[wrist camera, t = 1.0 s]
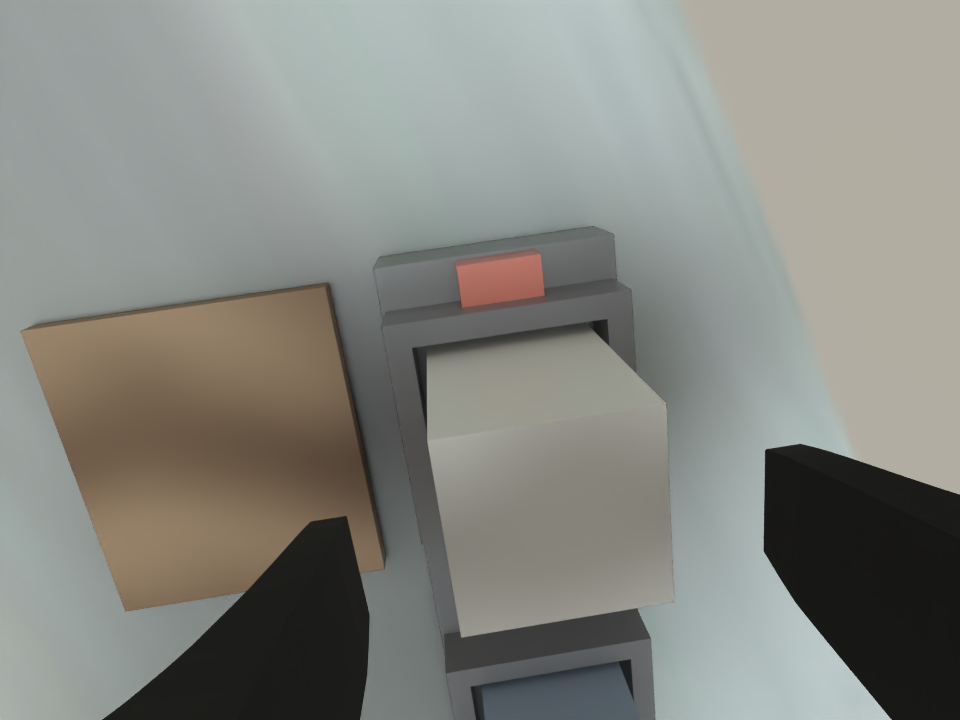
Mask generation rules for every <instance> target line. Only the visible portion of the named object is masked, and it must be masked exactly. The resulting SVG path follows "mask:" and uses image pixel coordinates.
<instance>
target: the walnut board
mask: <svg viewBox="0 0 960 720" xmlns="http://www.w3.org/2000/svg"><path fill="white" fill-rule="evenodd" d="M20 332H21V334H22V337H23V340H24V342H25V345H26V348H27V350H28V353H29V356H30V358H31V361H32V364H33V366H34V369H35V372H36V374H37V377H38V380H39V382H40V385H41V388H42V390H43V393H44V396H45V398H46V401H47V404H48V406H49V409H50V412H51V414H52V417H53V420H54V422H55V425H56V428H57V430H58V433H59V436H60V438H61V441H62V444H63V446H64V449H65V452H66V454H67V457H68V460H69V462H70V465H71V468H72V470H73V473H74V476H75V478H76V481H77V484H78V486H79V489H80V492H81V494H82V497H83V500H84V502H85V505H86V508H87V510H88V513H89V516H90V518H91V521H92V524H93V526H94V529H95V532H96V534H97V537H98V540H99V542H100V545H101V548H102V550H103V553H104V556H105V558H106V561H107V564H108V566H109V569H110V572H111V574H112V577H113V580H114V582H115V585H116V588H117V590H118V593H119V596H120V598H121V601H122V604H123V606H124V609H125V611H132V610H138V609H144V608H150V607H156V606H162V605H168V604H175V603H181V602H187V601H193V600H199V599H205V598H211V597H217V596H224V595H230V594H236V593H242V592H246V591H247V590H248V589H249V588H250V587H251V586H252V585H253V584H254V583H255V581H256V580H257V579H258V578H259V577H260V576H261V575H262V574H263V573H264V572H265V571H266V570H267V568H268V567H269V566H270V565H271V564H272V563H273V562H274V561H275V560H276V559H277V557H278V556H279V555H280V554H281V553H282V552H283V551H284V550H285V548H286V547H287V546H288V545H289V544H290V543H291V542H292V541H293V539H294V538H295V537H296V536H297V535H298V534H299V533H300V532H301V531H302V530H303V529H304V528H305V527H306V526H307V525H308V524H309V523H310V522H311V521H317V520H323V519H330V518H336V517H342V516H347V519H348V523H349V528H350V532H351V537H352V541H353V545H354V550H355V554H356V559H357V563H358V567H359V572H360V573H365V572H371V571H377V570H383V569H385V561H386V556H385V551H384V547H383V542H382V537H381V532H380V527H379V523H378V518H377V513H376V508H375V504H374V499H373V494H372V489H371V485H370V480H369V475H368V470H367V465H366V461H365V456H364V451H363V446H362V442H361V437H360V432H359V427H358V422H357V418H356V413H355V408H354V403H353V399H352V394H351V389H350V384H349V380H348V375H347V370H346V365H345V360H344V356H343V351H342V346H341V341H340V337H339V332H338V327H337V322H336V317H335V313H334V308H333V303H332V298H331V294H330V289H329V284H328V283H323V284H316V285H309V286H302V287H296V288H289V289H282V290H275V291H268V292H261V293H254V294H247V295H240V296H233V297H226V298H219V299H212V300H206V301H199V302H192V303H185V304H178V305H171V306H164V307H157V308H150V309H143V310H136V311H129V312H123V313H116V314H109V315H102V316H95V317H88V318H81V319H74V320H67V321H60V322H53V323H46V324H40V325H33V326H31V327H29V328H26V329H24V330H21V331H20Z"/></svg>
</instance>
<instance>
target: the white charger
mask: <svg viewBox="0 0 960 720" xmlns="http://www.w3.org/2000/svg"><path fill="white" fill-rule="evenodd" d="M427 442H428V448H429V454H430V460H431V466H432V471H433V477H434V483H435V489H436V494H437V500H438V506H439V512H440V518H441V523H442V529H443V535H444V541H445V546H446V552H447V558H448V564H449V570H450V575H451V581H452V587H453V593H454V598H455V604H456V610H457V616H458V621H459V627H460V633H461V638H462V637H468V636H474V635H480V634H486V633H492V632H498V631H504V630H510V629H516V628H522V627H528V626H534V625H539V624H545V623H551V622H557V621H563V620H569V619H575V618H581V617H587V616H593V615H599V614H605V613H611V612H617V611H623V610H629V609H635V608H641V607H647V606H652V605H658V604H664V603H670V602H674V582H673V557H672V532H671V508H670V483H669V458H668V433H667V408H666V403H665V402H664V401H663V400H662V399H661V398H660V397H659V396H658V395H657V394H656V393H655V392H654V391H653V390H652V389H651V388H650V387H649V386H648V385H647V384H646V383H645V382H644V381H643V380H642V379H641V378H640V377H639V376H638V375H637V374H636V373H635V372H634V371H633V370H632V369H631V368H630V367H629V366H628V365H627V364H626V363H625V362H624V361H623V360H622V359H621V358H620V357H619V356H618V355H617V354H616V353H615V352H614V351H613V350H612V349H611V348H610V347H609V346H608V345H607V344H606V343H605V342H604V341H603V340H602V339H601V338H600V337H599V336H598V335H597V334H596V333H595V332H594V331H593V330H592V329H591V328H590V327H589V326H588V325H587V324H586V323H585V322H583V323H576V324H570V325H563V326H556V327H550V328H543V329H536V330H530V331H523V332H516V333H509V334H503V335H496V336H489V337H483V338H476V339H469V340H463V341H456V342H449V343H443V344H436V345H429V346H427Z"/></svg>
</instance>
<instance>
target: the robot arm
mask: <svg viewBox="0 0 960 720" xmlns="http://www.w3.org/2000/svg"><path fill="white" fill-rule="evenodd" d="M764 552H765V554H766V556H767V557H768V559H769V561H770V562H771V564H772V566H773V567H774V569H775V571H776V572H777V574H778V576H779V577H780V579H781V581H782V582H783V584H784V585H785V587H786V588H787V590H788V591H789V593H790V595H791V596H792V598H793V599H794V601H795V602H796V603H797V605H798V606H799V607H800V609H801V610H802V611H803V612H804V614H805V615H806V616H807V617H808V619H809V620H810V621H811V622H812V624H813V625H814V626H815V627H816V628H817V630H818V631H819V632H820V633H821V635H822V636H823V637H824V638H825V640H826V641H827V642H828V643H829V644H830V646H831V647H832V648H833V649H834V650H835V652H836V653H837V654H838V655H839V657H840V658H841V659H842V660H843V661H844V663H845V664H846V665H847V666H848V667H849V669H850V670H851V671H852V672H853V673H854V675H855V676H856V677H857V678H858V679H859V681H860V682H861V683H862V684H863V686H864V687H865V688H866V689H867V690H868V692H869V693H870V694H871V695H872V696H873V698H874V699H875V700H876V701H877V702H878V704H879V705H880V706H881V707H882V709H883V710H884V711H885V712H886V713H887V715H888V716H889V717H890V718H891V719H892V720H960V495H959V494H956V493H953V492H950V491H946V490H943V489H940V488H937V487H934V486H931V485H928V484H925V483H922V482H919V481H916V480H913V479H910V478H907V477H904V476H901V475H898V474H895V473H892V472H889V471H886V470H884V469H880V468H878V467H875V466H872V465H869V464H866V463H863V462H860V461H857V460H854V459H851V458H848V457H845V456H842V455H839V454H835V453H832V452H829V451H826V450H822V449H819V448H815V447H811V446H807V445H802V444H797V445H791V446H785V447H778V448H772V449H766V450H765V502H764ZM369 617H370V616H369V611H368V607H367V602H366V598H365V594H364V589H363V585H362V581H361V576H360V572H359V567H358V563H357V559H356V554H355V550H354V545H353V541H352V537H351V532H350V528H349V523H348V519H347V516H342V517H336V518H330V519H323V520H317V521H311V522H310V523H309V524H308V525H307V526H306V527H305V528H304V529H303V530H302V531H301V532H300V533H299V534H298V535H297V536H296V537H295V538H294V539H293V541H292V542H291V543H290V544H289V545H288V546H287V547H286V548H285V550H284V551H283V552H282V553H281V554H280V555H279V556H278V557H277V559H276V560H275V561H274V562H273V563H272V564H271V565H270V566H269V567H268V568H267V570H266V571H265V572H264V573H263V574H262V575H261V576H260V577H259V578H258V579H257V580H256V581H255V583H254V584H253V585H252V586H251V587H250V588H249V589H248V590H247V591H246V592H245V593H244V594H243V596H242V597H241V598H240V599H239V600H238V601H237V602H236V603H235V604H234V605H233V606H232V607H231V608H230V609H229V610H228V611H227V612H225V613H224V614H223V615H222V616H221V617H220V618H219V619H218V620H217V621H216V622H215V623H214V624H213V625H212V626H211V627H210V628H209V629H208V630H207V631H206V632H205V633H204V634H203V635H202V636H201V637H200V638H199V639H198V640H197V641H196V642H195V643H194V644H193V645H192V646H191V647H190V648H189V649H188V650H186V651H185V652H184V653H183V654H182V655H181V656H180V657H179V658H178V659H176V660H175V661H174V662H173V663H172V664H171V665H170V666H169V667H167V668H166V669H165V670H164V671H163V672H161V673H160V674H159V675H158V676H157V677H156V678H154V679H153V680H152V681H151V682H150V683H148V684H147V685H146V686H145V687H144V688H142V689H141V690H140V691H139V692H138V693H136V694H135V695H134V696H133V697H131V698H130V699H129V700H128V701H126V702H125V703H124V704H123V705H121V706H120V707H119V708H117V709H116V710H115V711H113V712H112V713H111V714H109V715H108V716H107V717H105V718H104V719H103V720H360V716H361V710H362V704H363V698H364V691H365V685H366V678H367V668H368V648H369Z"/></svg>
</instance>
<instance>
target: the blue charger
mask: <svg viewBox="0 0 960 720" xmlns="http://www.w3.org/2000/svg"><path fill="white" fill-rule="evenodd" d="M481 686H482V696H483V705H484V714H485V720H641V719H640V716H639V714H638V711H637V709H636V706H635V703H634V701H633V698H632V696H631V693H630V690H629V688H628V685H627V683H626V680H625V677H624V675H623V672H622V670H621V667H620V664H619V662H618V661H617V662H611V663H605V664H599V665H593V666H587V667H582V668H576V669H570V670H564V671H558V672H552V673H547V674H541V675H535V676H529V677H523V678H517V679H512V680H506V681H500V682H494V683H488V684H482V685H481Z"/></svg>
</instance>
